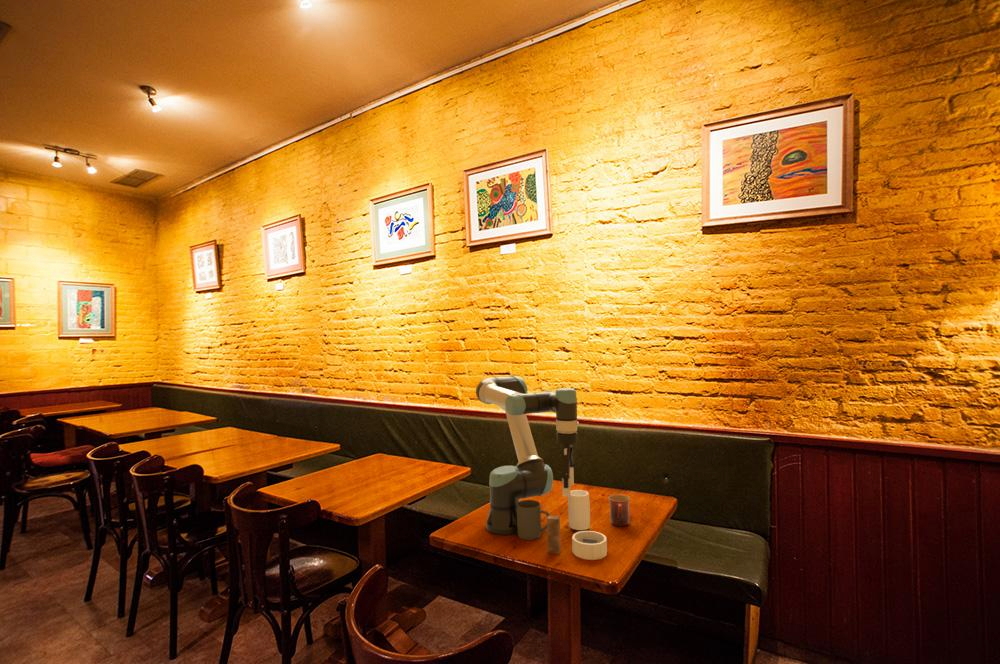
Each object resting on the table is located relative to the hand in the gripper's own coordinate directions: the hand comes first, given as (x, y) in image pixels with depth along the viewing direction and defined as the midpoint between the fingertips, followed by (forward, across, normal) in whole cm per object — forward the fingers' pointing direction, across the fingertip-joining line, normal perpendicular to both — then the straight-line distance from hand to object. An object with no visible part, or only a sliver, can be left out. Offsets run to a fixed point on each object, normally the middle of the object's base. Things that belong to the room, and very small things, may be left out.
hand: (568, 490), depth 168 cm
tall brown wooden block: (+20, -6, +5) cm, 21 cm away
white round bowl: (+20, -3, -7) cm, 21 cm away
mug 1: (+20, +6, +14) cm, 25 cm away
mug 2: (+20, +23, -18) cm, 35 cm away
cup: (+20, +16, -2) cm, 26 cm away
